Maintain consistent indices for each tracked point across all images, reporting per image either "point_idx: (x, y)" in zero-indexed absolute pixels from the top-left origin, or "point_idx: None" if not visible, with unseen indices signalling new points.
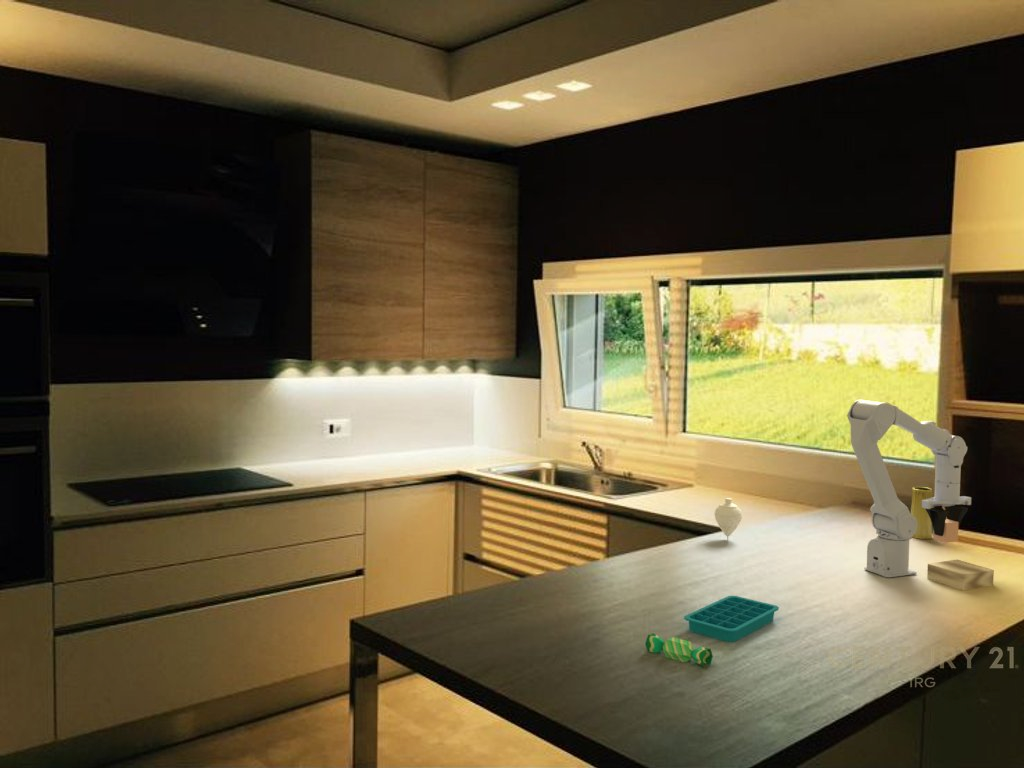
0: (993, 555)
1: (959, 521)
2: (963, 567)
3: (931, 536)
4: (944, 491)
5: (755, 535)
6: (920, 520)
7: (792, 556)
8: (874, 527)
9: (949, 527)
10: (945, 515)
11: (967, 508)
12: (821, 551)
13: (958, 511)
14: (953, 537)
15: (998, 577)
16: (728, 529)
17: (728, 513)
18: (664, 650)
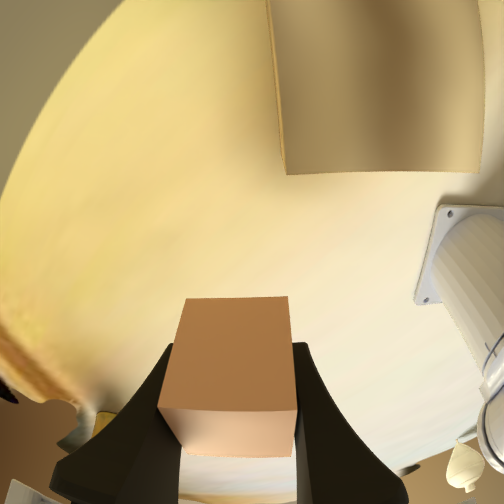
0: (18, 292)
1: (138, 409)
2: (389, 45)
3: (99, 414)
4: None
5: (405, 455)
6: None
7: None
8: None
9: (258, 378)
10: (331, 472)
11: (53, 482)
12: (419, 405)
13: (136, 486)
14: (219, 318)
15: (139, 63)
16: (470, 448)
17: (483, 465)
18: None
